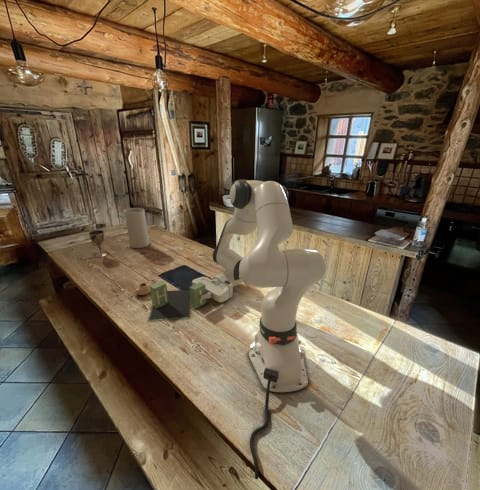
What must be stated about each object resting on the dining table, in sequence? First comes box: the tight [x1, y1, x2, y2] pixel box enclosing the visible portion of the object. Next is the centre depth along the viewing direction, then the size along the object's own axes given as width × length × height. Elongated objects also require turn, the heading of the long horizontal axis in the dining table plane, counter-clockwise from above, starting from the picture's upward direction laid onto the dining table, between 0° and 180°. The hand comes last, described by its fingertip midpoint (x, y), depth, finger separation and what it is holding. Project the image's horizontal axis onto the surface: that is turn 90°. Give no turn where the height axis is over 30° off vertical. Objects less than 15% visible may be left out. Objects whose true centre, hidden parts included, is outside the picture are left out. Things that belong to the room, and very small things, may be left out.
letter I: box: [189, 282, 207, 309], centre depth 117 cm, size 4×6×10 cm, turn 137°
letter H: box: [150, 280, 169, 308], centre depth 117 cm, size 4×6×10 cm, turn 137°
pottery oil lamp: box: [132, 279, 158, 296], centre depth 128 cm, size 9×12×7 cm
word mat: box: [149, 289, 191, 321], centre depth 120 cm, size 22×16×1 cm
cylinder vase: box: [123, 207, 150, 249], centre depth 180 cm, size 12×12×25 cm
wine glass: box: [88, 230, 108, 258], centre depth 167 cm, size 8×8×15 cm
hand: (196, 295), depth 117 cm, fingers closed on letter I, 4 cm apart
